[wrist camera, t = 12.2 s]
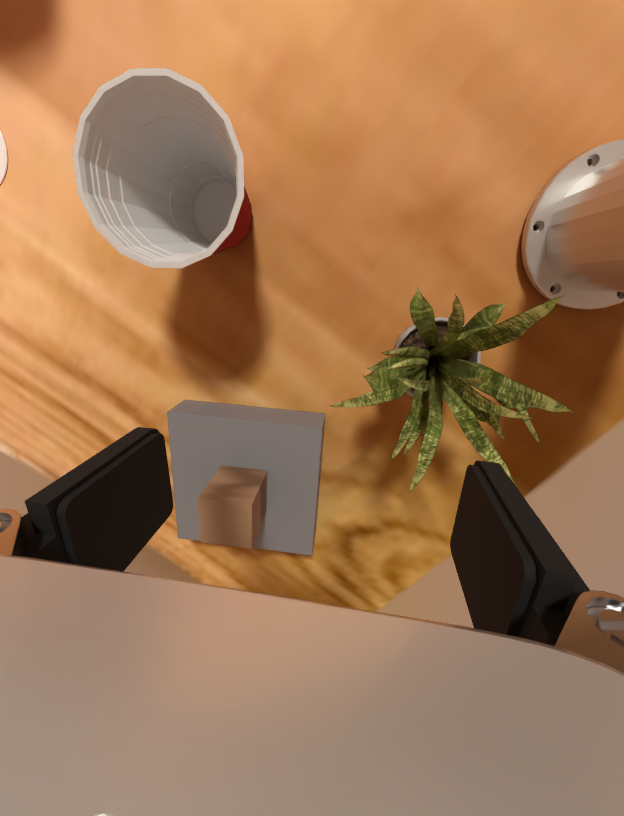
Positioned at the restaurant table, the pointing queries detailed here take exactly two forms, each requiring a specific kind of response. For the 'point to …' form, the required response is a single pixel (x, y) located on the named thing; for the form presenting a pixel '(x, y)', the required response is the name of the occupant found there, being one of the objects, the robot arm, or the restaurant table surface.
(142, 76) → the plastic cup
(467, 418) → the house plant
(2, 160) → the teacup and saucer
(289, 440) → the grey square slab
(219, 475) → the walnut block
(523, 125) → the restaurant table surface
